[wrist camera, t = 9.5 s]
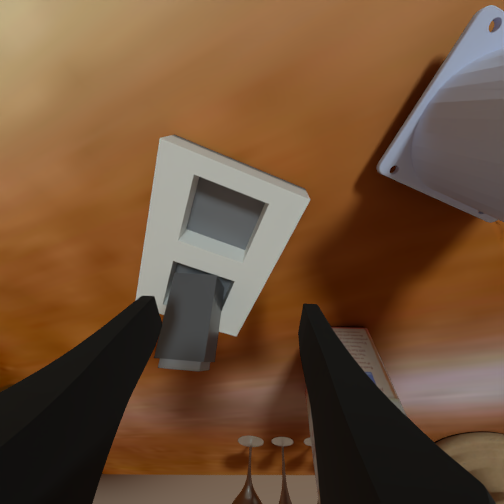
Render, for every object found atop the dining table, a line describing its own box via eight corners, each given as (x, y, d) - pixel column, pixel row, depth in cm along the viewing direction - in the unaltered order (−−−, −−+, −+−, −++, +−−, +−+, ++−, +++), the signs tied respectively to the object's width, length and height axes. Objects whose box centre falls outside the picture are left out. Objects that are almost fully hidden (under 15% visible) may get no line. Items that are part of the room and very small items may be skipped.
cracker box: (310, 323, 25) (426, 880, 7) (368, 324, 24) (653, 919, 6) (301, 392, 32) (345, 749, 14) (345, 394, 31) (448, 763, 14)
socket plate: (305, 188, 17) (310, 199, 15) (239, 317, 25) (236, 336, 22) (174, 134, 16) (159, 137, 14) (146, 288, 23) (134, 306, 21)
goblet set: (401, 434, 37) (462, 577, 25) (395, 448, 40) (447, 582, 28) (232, 433, 40) (218, 559, 29) (238, 447, 43) (227, 566, 32)
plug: (217, 274, 18) (202, 371, 16) (224, 287, 22) (213, 370, 19) (174, 272, 19) (151, 367, 16) (187, 285, 22) (171, 366, 19)
